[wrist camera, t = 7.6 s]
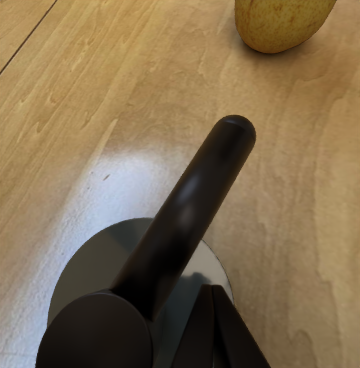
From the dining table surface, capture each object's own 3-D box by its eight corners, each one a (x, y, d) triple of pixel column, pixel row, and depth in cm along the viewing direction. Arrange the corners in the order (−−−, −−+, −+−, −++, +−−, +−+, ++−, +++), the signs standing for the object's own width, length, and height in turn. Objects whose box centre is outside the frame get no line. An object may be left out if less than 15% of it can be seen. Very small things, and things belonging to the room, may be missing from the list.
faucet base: (250, 399, 14) (292, 488, 8) (55, 433, 13) (-34, 548, 8) (212, 210, 18) (223, 187, 12) (62, 233, 17) (6, 220, 12)
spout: (133, 396, 10) (103, 473, 6) (68, 341, 10) (8, 381, 7) (261, 160, 13) (288, 123, 10) (205, 132, 14) (212, 89, 10)
